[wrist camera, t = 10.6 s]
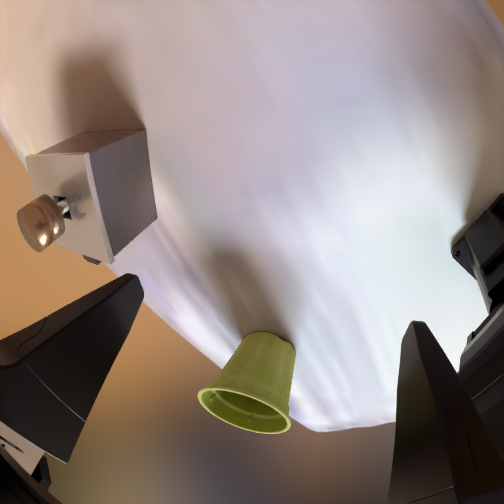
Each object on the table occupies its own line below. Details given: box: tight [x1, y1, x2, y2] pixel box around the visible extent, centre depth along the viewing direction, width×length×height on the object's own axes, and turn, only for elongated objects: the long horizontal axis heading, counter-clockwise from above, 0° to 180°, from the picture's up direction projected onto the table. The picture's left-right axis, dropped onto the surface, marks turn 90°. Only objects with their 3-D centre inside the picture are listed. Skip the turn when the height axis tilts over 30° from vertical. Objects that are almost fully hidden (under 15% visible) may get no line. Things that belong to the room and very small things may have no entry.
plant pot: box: [198, 332, 296, 434], centre depth 28 cm, size 9×9×9 cm
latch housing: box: [25, 129, 157, 265], centre depth 22 cm, size 9×11×7 cm
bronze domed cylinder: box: [17, 194, 69, 252], centre depth 20 cm, size 4×4×9 cm
